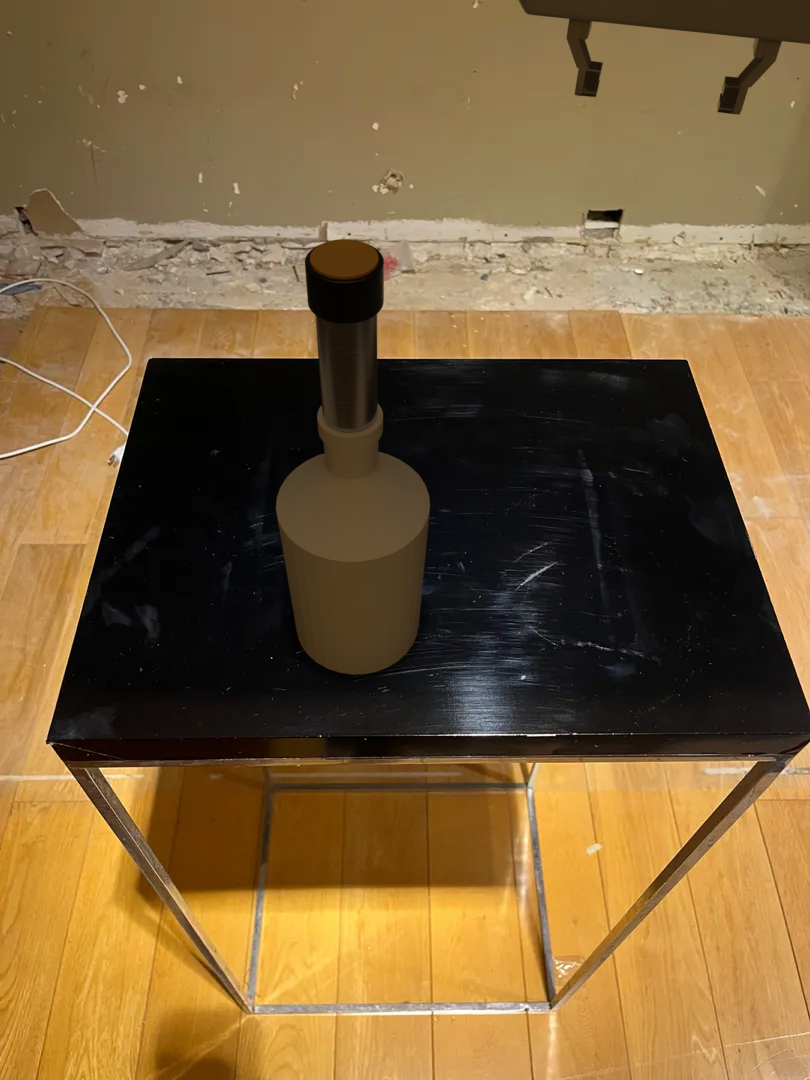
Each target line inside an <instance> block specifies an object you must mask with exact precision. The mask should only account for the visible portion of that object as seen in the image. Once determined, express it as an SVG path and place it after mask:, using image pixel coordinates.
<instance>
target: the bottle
mask: <svg viewBox="0 0 810 1080" xmlns="http://www.w3.org/2000/svg"><path fill="white" fill-rule="evenodd" d="M316 418H317V432H318V436H319V438H320V439H321V441H322V442H323V450H324V453H321V454H318V455H316V456H313V457H312V458H310V459H307V460H305V461H304V462H303V463H301V464H300V465H298V466H297V467H295V468H294V469H293V470H292V471H291V472H290V473H289V474H288V475H287V476H286V477H285V479H284V481H283V483H282V484H281V485H280V488H279V490H278V493H277V496H276V502H275V503H276V504H275V511H276V518H277V522H278V529H279V535H280V542H281V546H282V553H283V559H284V565H285V571H286V577H287V582H288V589H289V594H290V600H291V606H292V612H293V618H294V623H295V629H296V636H297V639H298V641H299V644H300V646H301V647H302V649H303V650H304V652H305V653H306V654H307V655H308V657H310V658H311V659H312V660H313V661H314V662H315V663H316V664H318V665H320V666H322V667H323V668H325V669H326V670H327V669H328V670H330V671H332V672H333V671H334V672H336V673H340V674H346V675H367V674H372V673H376V672H380V671H382V670H384V669H387V668H389V667H391V666H393V665H394V664H396V663H398V662H399V661H400V660H401V659H402V658H404V656H406V655H407V653H409V651H410V649H411V648H412V647H413V645H414V643H415V642H416V641H415V640H416V638H417V637H418V632H419V627H420V617H421V616H420V615H421V605H422V595H423V585H424V574H425V563H426V555H427V554H426V553H427V543H428V542H427V541H428V531H429V521H430V511H431V502H430V501H431V500H430V495H429V492H428V488H427V486H426V483H425V482H424V481H423V479H422V477H421V476H420V475H419V473H418V472H417V471H415V470H414V468H412V467H411V466H410V465H408V464H407V463H405V462H404V461H402V460H401V459H399V458H397V457H395V456H392V455H391V454H388V453H384V452H381V451H379V444H380V443H379V440H380V439H381V437H382V435H383V432H384V412H383V409H382V407H381V406H380V404H379V402H377V418H376V420H375V422H374V423H373V424H372V425H371V426H370V427H369V428H367V429H365V430H362V431H359V432H353V433H345V432H340V431H337V430H334V429H332V428H331V427H329V426H328V425H327V424H326V423H325V421H324V419H323V416H322V404H321V405H320V407H319V408H318V411H317V414H316Z"/></svg>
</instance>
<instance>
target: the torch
mask: <svg viewBox="0 0 810 1080" xmlns="http://www.w3.org/2000/svg"><path fill="white" fill-rule="evenodd" d="M304 270H305V285H306V296H307V297H306V298H307V299H306V300H307V305H308V309H309V310H310V312H311V313H312V314H313V315H315V327H316V328H315V331H316V344H317V345H316V346H317V359H318V372H319V373H318V374H319V388H320V389H319V390H320V401H321V405H322V416H323V419H324V421H325V423H326V424H327V425H328V426H329V427H331V428H332V429H334V430H337V431H340V432H345V433H353V432H359V431H362V430H365V429H367V428H369V427H370V426H371V425H372V424H373V423H374V422H375V420H376V418H377V403H378V314H379V313H380V311H381V310H382V309H383V307H384V302H385V260H384V257H383V255H382V252H381V251H380V250H378V249H377V248H376V247H374V245H371V244H370V243H369V244H368V243H366V242H364V241H360V240H357V239H350V238H349V239H348V238H347V239H346V238H341V239H332V240H329V241H328V240H327V241H325V242H323V243H321V244H318V245H316V246H314V247H312V248H311V249H310V250H309V252H307V254H306V256H305V259H304Z"/></svg>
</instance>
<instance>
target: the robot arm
mask: <svg viewBox="0 0 810 1080" xmlns="http://www.w3.org/2000/svg"><path fill="white" fill-rule="evenodd" d="M517 1H518V3H519V5H520V6H521V8H522V10H523V12H524V13H525V14H526V15H529V16H538V17H545V18H546V17H547V18H557V19H563V20H564V19H565V20H568V23H567V24H568V25H567V33H566V40H567V44H568V47H569V50H570V52H571V55H572V59H573V61H574V64H575V66H576V68H577V69H578V70H577V75H576V76H577V77H576V83H575V88H574V96H577V97H587V98H597V95H598V92H599V86H600V82H601V80H600V78H601V75H602V70H603V64H604V62H602V61H596V60H595V61H594V60H592V58H591V55H590V52H589V49H588V45H587V42H586V40H587V39H588V38H589V36H590V34H591V30H592V27H593V23H602V24H603V23H604V24H611V25H612V24H613V25H623V26H633V27H642V28H649V29H650V28H651V29H662V30H670V31H679V32H689V33H699V34H708V35H716V36H717V35H718V36H727V37H738V38H747V39H754V41H753V44H752V51H753V52H752V53H753V59H752V60H750V62H749V63H748V64H747V65H746V66H745V68H744V69H743V70H742V71H741V72H740V74H739V75H738V76H728V75H727V76H724V80H723V82H722V85H721V93H720V94H719V96H718V101H717V106H716V109H717V110H716V112H717V113H721V114H729V115H738V116H740V115H741V113H742V110H743V107H744V104H745V101H746V98H747V94H748V90H749V89H750V88H752V87H753V86H754V85H755V84H756V83H757V82H758V81H759V80H760V79H761V77H762V76H763V75H764V74H765V73H766V72H767V71H768V70H769V69H770V68H771V67H772V65H774V63H775V62H776V61H777V59H778V55H779V52H780V48H781V46H782V43H783V42H784V43H793V44H794V43H795V44H804V45H810V0H517Z"/></svg>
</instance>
